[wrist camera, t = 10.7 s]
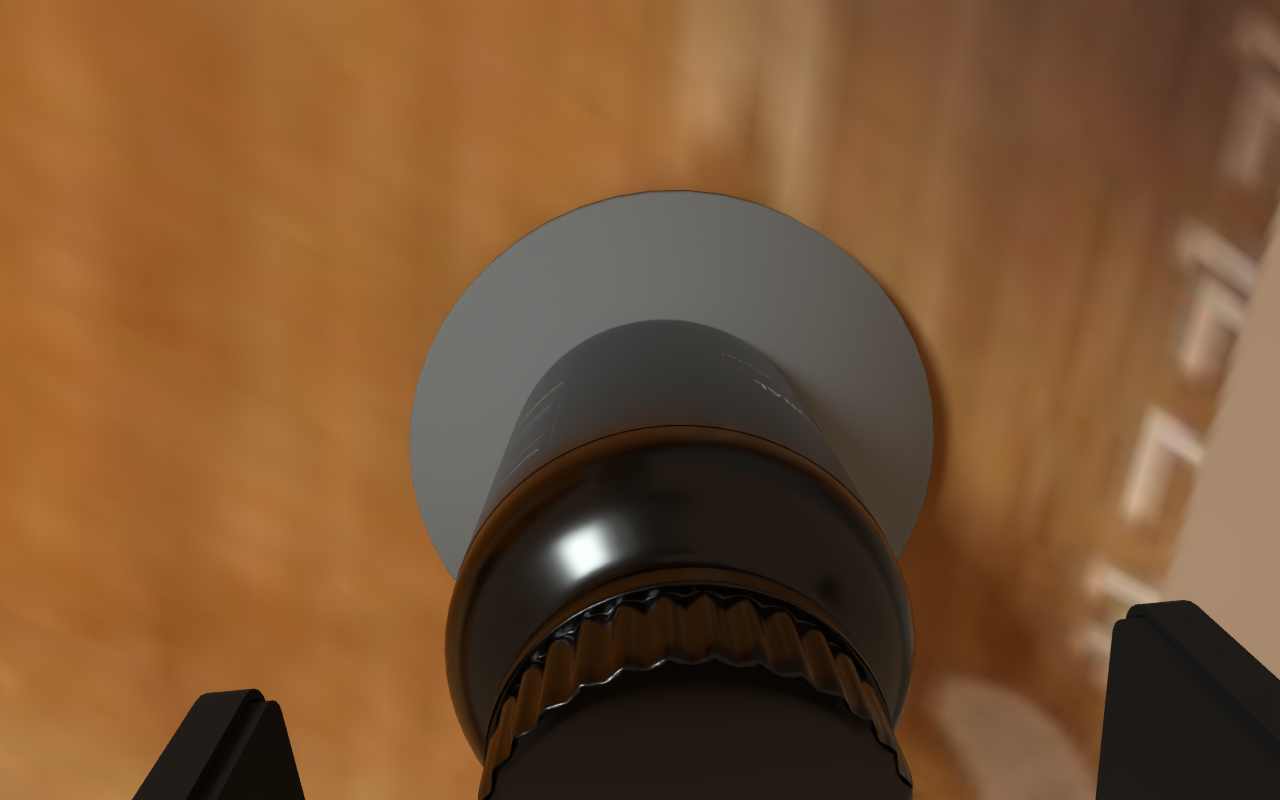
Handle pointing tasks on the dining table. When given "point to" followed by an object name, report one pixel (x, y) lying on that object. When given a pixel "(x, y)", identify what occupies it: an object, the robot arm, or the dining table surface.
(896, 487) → the coaster
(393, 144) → the dining table surface
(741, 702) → the supplement bottle
